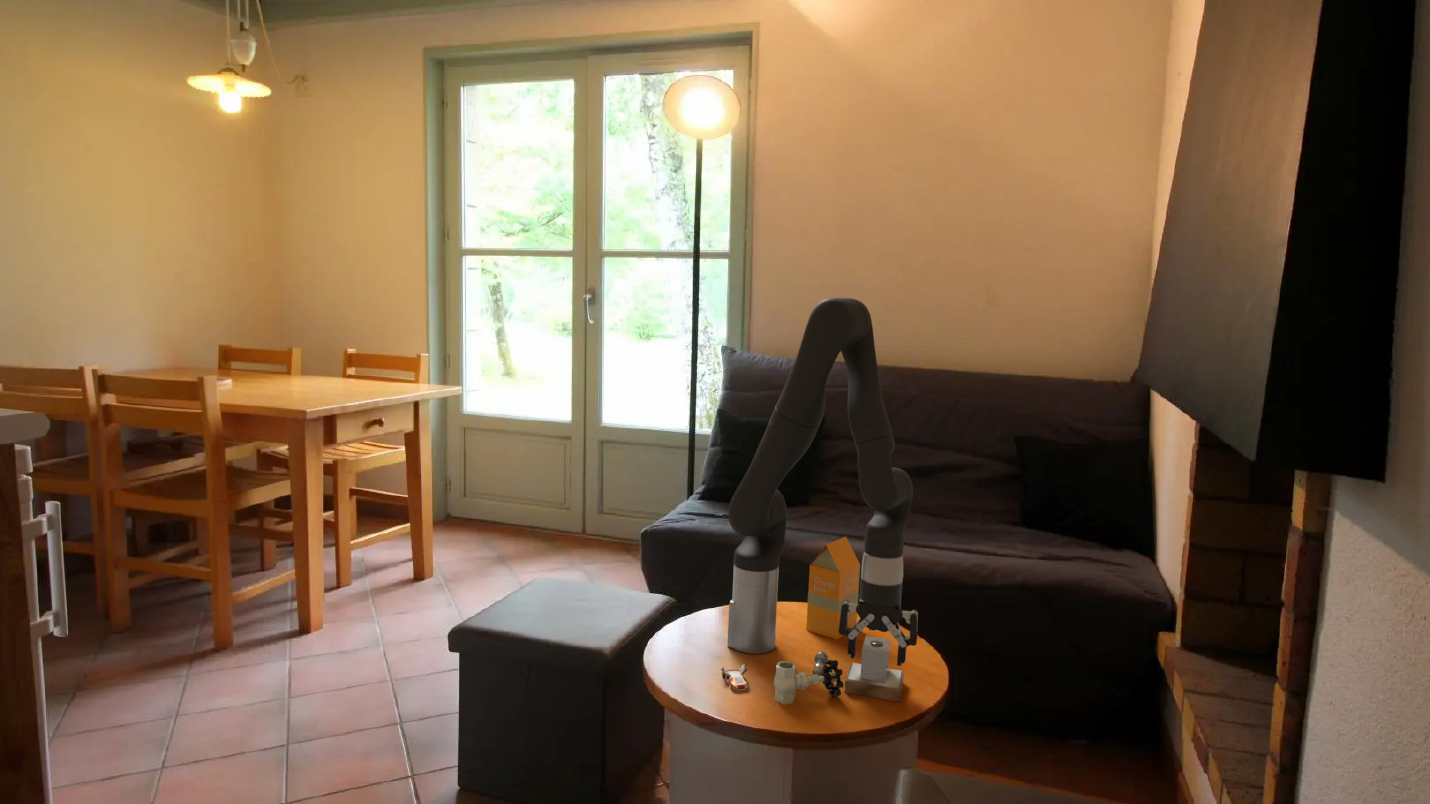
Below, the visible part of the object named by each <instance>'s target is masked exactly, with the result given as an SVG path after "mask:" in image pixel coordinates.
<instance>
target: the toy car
mask: <svg viewBox="0 0 1430 804" xmlns="http://www.w3.org/2000/svg"><path fill="white" fill-rule="evenodd" d="M720 670H721V675H722V679H723V680H725V682H726V683H727V685H728V686H729V687H728V688H729V690H731V691H737V692H738V691H746V690H748V689H749V687H750V685H749V684H750V683H749V681H748V680H747V679H746V678H745V677H744V675H745V673H746V672H747V671H748V665H747V664H744V663H742V665H740V667H739V669H728V670H726V668H725V667H724V666H722V668H721V669H720ZM728 677H729V678H728Z"/></svg>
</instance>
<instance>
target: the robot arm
mask: <svg viewBox="0 0 1430 804" xmlns="http://www.w3.org/2000/svg"><path fill="white" fill-rule="evenodd" d="M873 329H874V328H873V321H872V316H871V313H870V311H869V309H868V307H867V305H866V304H864V303H863V301H860V300H858V299H855V298H850V297H829V298H825V299H822V301H820V302H818V303H817V305H815V306H814V308H813V309H812V311H811V313H810V315H809V317H808V320H807V323H806V326H805V330H804V332H803V336H802V339H801V342H800V345H799V348H798V352H797V355H796V358H795V359H794V363H793V365H792V368H791V370H790V373H789V375H788V377H787V380H786V382H785V385H784V387H783V390H782V392H781V394H780V395H779V398H778V400H777V402H776V404H775V406H774V408H773V411H772V414H771V416H770V418H769V421H768V423H767V426H766V428H765V432H764V434H763V436H762V438H761V440H760V441H759V444H758V446H757V449H756V452H755V454H754V456H753V459H752V460H751V463H750V466H749V467H748V469H747V471H746V473H745V474H744V476H743V479H742V480H741V481H740V483H739V485H738V486H737V488H736V490H735V491H734V494H733V496H732V497H731V499H730V503H729V506H728V510H727V511H728V512H727V513H728V514H727V516H728V521H729V525H730V527H731V528H732V530H733V531H734V532H735V533H736V534H738V535H740V536H742V537H744V539H743V540H742V541H741V543H740V544H739V545H738V547H736V548H735V551H734V553H733V576H732V577H733V578H732V599H730V601H729V604H728V624H727V625H728V628H727V647H729V648H732V649H734V650H736V651H738V652H741V653H744V654H745V653H746V654H752V655H753V654H755V655H757V654H766V653H769V652H771V651H773V650H774V649H775V647H776V636H777V635H776V633H777V632H776V630H777V629H776V628H777V614H778V613H777V610H778V608H777V607H778V592H779V591H778V589H779V588H778V587H779V568H780V566H779V565H780V559H781V556H782V555H783V553H784V552H783V551H784V548H785V539H786V529H787V518H788V514H787V509H788V508H787V503H786V501H785V497H784V495H783V494H782V492H781V491H780V490H779V489H778V488H779V486H780V484H781V483H782V481H783V480H784V478H785V477H786V476H787V475H788V474H789V472H791V470H792V469H793V468H794V466H795V465H796V464H797V463H798V462H799V461H800V460H801V458H802V457H803V456H804V455H805V453H806V452H807V451H808V450H809V448H810V446H811V445H812V443H813V442H814V439H815V436H817V435H816V434H817V432H818V430H819V428H820V426H821V424H822V421H823V417H824V414H825V408H826V392H827V391H826V389H827V380H828V379H829V375H830V373H831V370H832V368H833V366H834V364H835V362H836V359H837V358H838V356H839V354H840V353H841V355H842V357H843V361H844V365H845V368H846V372H847V374H846V375H847V382H848V383H847V389H848V390H847V416H848V422H849V423H848V424H849V426H850V430H851V434H852V438H853V443H854V445H855V448H856V451H857V452H856V453H857V473H858V485H859V490H860V494H861V496H862V498H863V500H864V502H865V504H866V505H867V506H868V507H869V508H870V509H872V510H873V511H874V513H873V515H872V518H871V519H870V520H869V521H868V523H867V524H866V527H865V530H864V531H865V532H864V546H863V554H862V556H863V557H862V559H861V560H862V561H861V566H860V582H859V598H858V604H853V603H850V602H849V601H848V600H845V601H844V602H843V604H842V608H841V616H840V624H839V634H841V635H843V636H845V637H846V638H847V651H846V652H847V655H849V656H850V659H855V657H856V654H857V641H858V640H857V637H858V635H859V634H861V633H862V631H864V629H866V628H867V629H868V630H869V631H879V632H881V633H887V632H890V634H891V635H892V637H893V639H895V640H896V642H897V644H898V648H897V658H896V666H898V667H901V666H902V664H905V662H906V658H907V657H906V656H907V647H909V646H913V647H915V646H917V642H918V631H919V630H918V629H919V628H918V624H919V623H918V621H919V620H918V616H919V615H918V614H919V612H918V610H917V609H912V610H911V611H910V610H903V608H902V593H903V589H902V588H903V579H904V557H903V556H904V544H905V543H904V542H905V529H906V525H907V523H908V519H909V516H910V511H911V508H912V503H913V498H914V487H913V486H914V485H913V482H912V479H911V477H910V475H909V474H908V473H907V472H906V471H905V470H904V469H902V468H900V467H892V460H891V455H892V453H893V452H894V451H895V448H896V443H895V438H894V435H893V430H892V427H891V422H890V419H889V417H888V416H889V415H888V413H887V409H886V405H885V402H884V397H883V391H882V386H881V383H880V376H879V368H878V362H877V355H876V354H877V353H876V347H875V338H874V330H873ZM855 610H856V612H857V616H858V617H859V618H860V619H858V620H857V622H856V624H855V625H854V626H853V627H852V629H851V628H849V627H847V622H848V615H851V614H852V612H853V611H855ZM903 618H904V619H905V622H906V623H907V624H908V625H909V635H908V636H906V635H905V633H904V631H903V630H902V627H901V625H900V624H899V622H900V621H901V620H902V619H903Z"/></svg>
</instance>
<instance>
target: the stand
mask: <svg viewBox="0 0 1430 804" xmlns="http://www.w3.org/2000/svg"><path fill="white" fill-rule="evenodd" d="M904 673H905V672H904V671H903V670H901V669H894V668H893V669H892V668H888V672H887V677H886V682H885V683H879V682H873V681H867V680H860V677H861V663H855V662H853V663H850V666H849V669H848V671H847V673H846V678H845V682H844V693H847V694H852V695H859V696H863V697H864V696H865V697H870V698H876V699H883V700H888V701H894V702H900V701H901V697H902V692H903V686H904V675H905V674H904Z"/></svg>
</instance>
